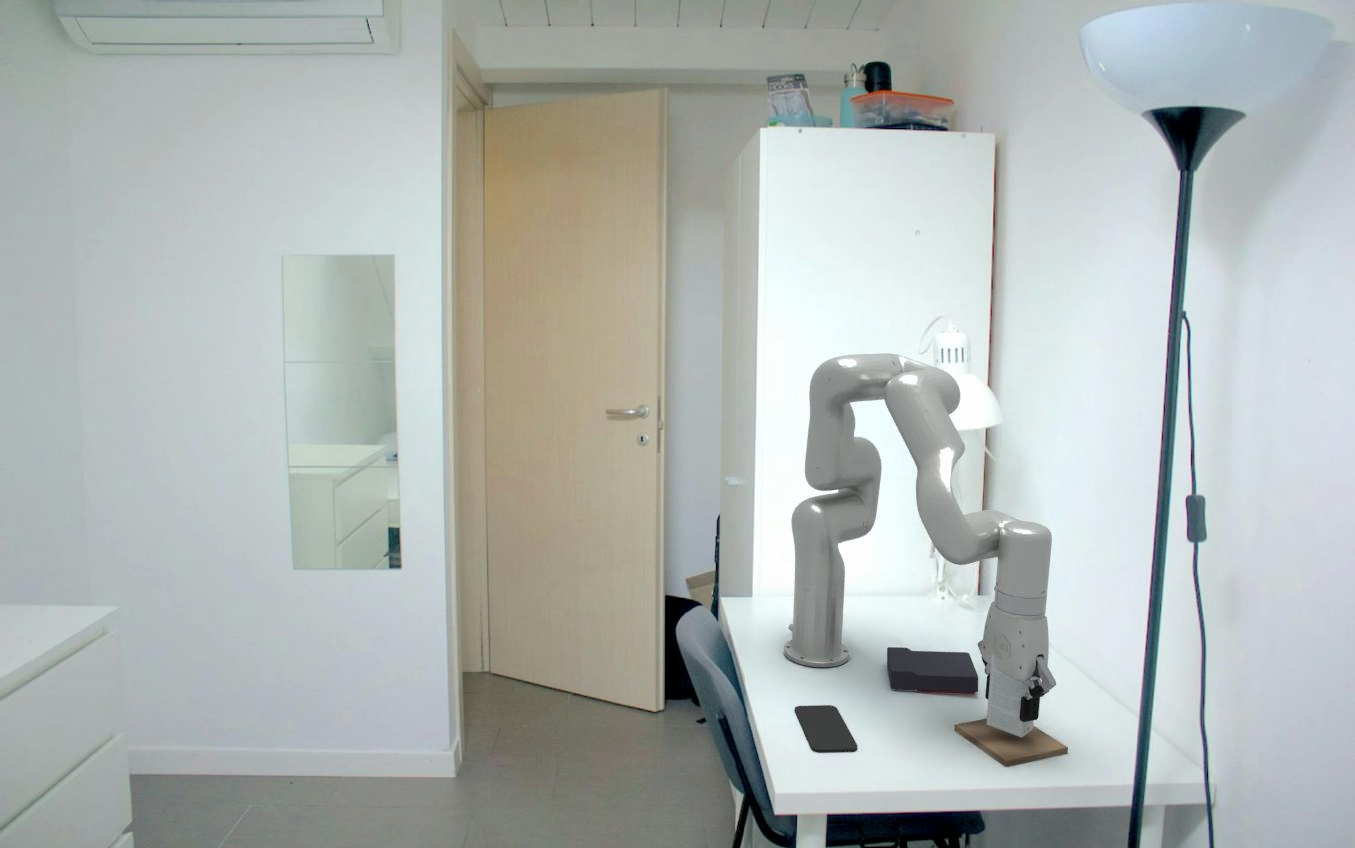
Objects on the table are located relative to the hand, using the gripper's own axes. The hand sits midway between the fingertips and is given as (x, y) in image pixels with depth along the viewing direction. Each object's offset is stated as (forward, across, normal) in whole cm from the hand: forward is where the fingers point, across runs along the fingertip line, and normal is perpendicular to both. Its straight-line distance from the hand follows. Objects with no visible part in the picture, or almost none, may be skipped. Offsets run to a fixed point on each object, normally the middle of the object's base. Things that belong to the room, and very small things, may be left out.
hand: (1011, 708), depth 143 cm
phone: (+6, -13, -26) cm, 30 cm away
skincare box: (+3, 0, 0) cm, 3 cm away
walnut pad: (+6, 0, 0) cm, 6 cm away
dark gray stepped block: (+2, -22, +2) cm, 23 cm away
